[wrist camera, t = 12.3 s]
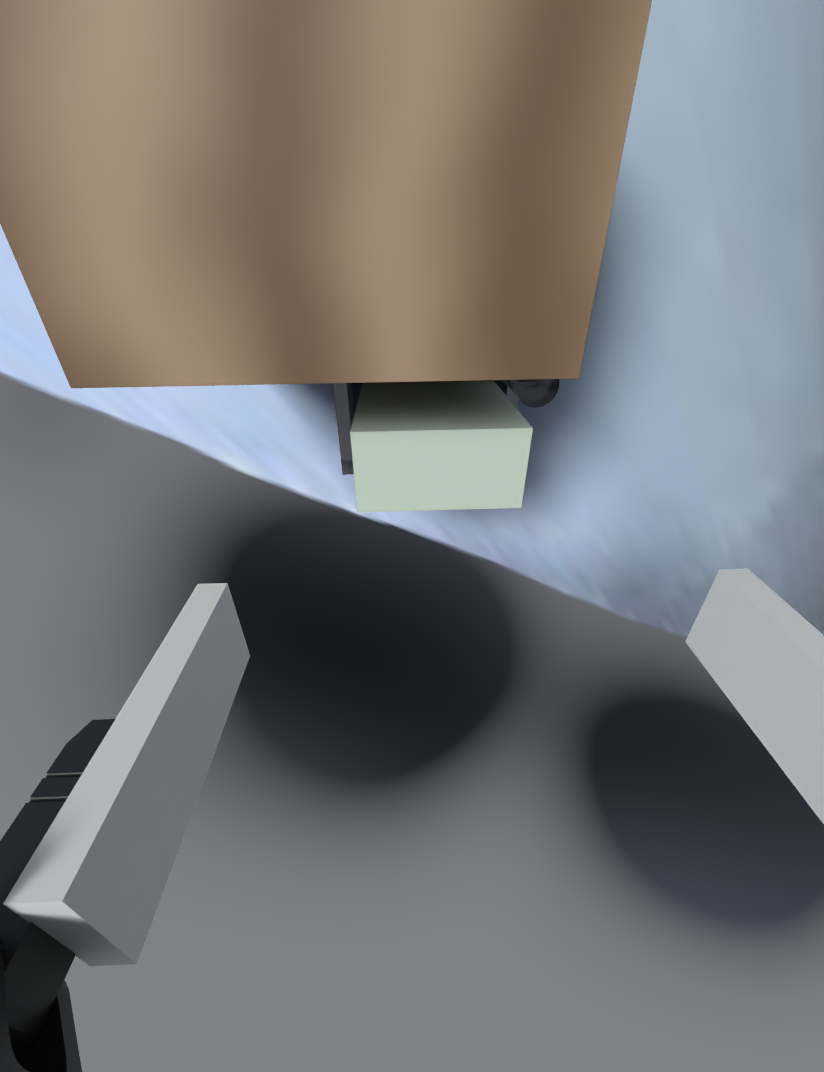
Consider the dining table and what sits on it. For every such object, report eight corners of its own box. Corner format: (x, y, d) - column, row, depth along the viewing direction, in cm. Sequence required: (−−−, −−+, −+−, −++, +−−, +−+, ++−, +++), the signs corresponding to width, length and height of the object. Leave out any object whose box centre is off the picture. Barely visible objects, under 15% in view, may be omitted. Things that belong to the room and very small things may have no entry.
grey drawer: (515, 321, 26) (594, 360, 16) (501, 454, 31) (555, 551, 21) (333, 323, 26) (294, 366, 16) (346, 457, 31) (323, 558, 21)
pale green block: (486, 372, 28) (533, 427, 19) (481, 445, 31) (518, 525, 22) (364, 374, 28) (350, 432, 19) (369, 448, 31) (358, 529, 21)
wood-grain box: (513, 33, 20) (720, -357, 7) (490, 321, 26) (578, 378, 14) (162, 32, 19) (-260, -382, 7) (227, 325, 26) (71, 388, 13)
